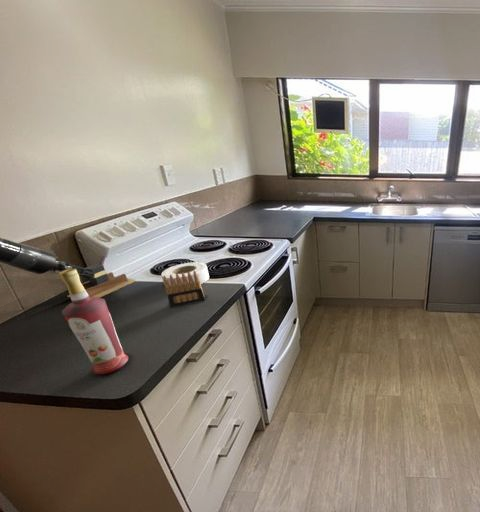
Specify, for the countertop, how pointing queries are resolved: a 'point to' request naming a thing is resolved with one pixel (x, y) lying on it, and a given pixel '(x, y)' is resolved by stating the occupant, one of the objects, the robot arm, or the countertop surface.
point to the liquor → (92, 326)
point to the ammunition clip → (184, 290)
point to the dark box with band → (97, 274)
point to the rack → (106, 285)
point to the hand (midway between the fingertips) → (84, 275)
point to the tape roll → (185, 268)
